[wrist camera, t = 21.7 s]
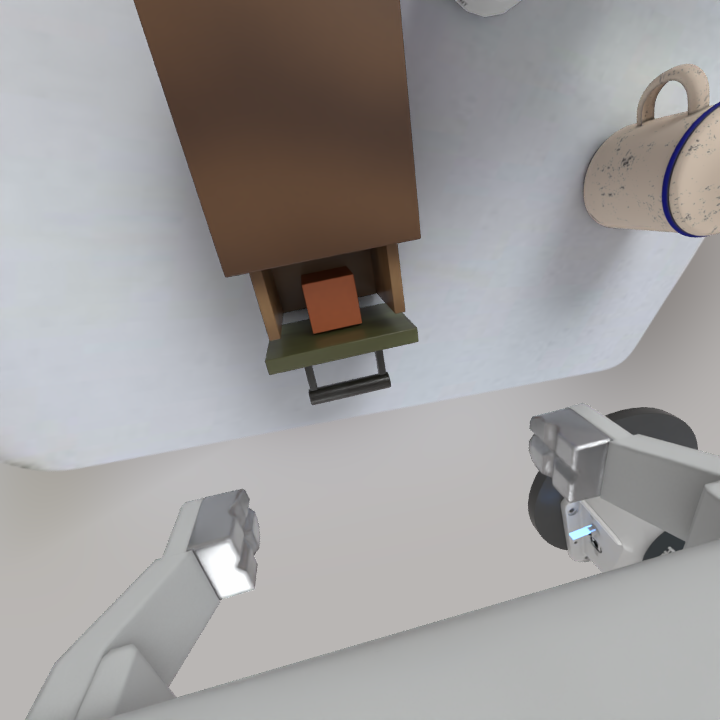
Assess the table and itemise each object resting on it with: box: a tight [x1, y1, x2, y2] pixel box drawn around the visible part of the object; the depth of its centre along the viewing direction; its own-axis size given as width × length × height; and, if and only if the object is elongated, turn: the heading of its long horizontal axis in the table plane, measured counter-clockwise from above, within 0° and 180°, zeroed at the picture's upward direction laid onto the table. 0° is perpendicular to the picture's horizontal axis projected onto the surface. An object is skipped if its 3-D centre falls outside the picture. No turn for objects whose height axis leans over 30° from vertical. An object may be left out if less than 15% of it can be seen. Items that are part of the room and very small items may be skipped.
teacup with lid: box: [583, 64, 720, 237], centre depth 27 cm, size 12×9×12 cm
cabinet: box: [134, 0, 421, 277], centre depth 23 cm, size 15×13×10 cm
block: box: [301, 266, 362, 334], centre depth 29 cm, size 4×4×4 cm
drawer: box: [249, 243, 418, 405], centre depth 28 cm, size 18×11×8 cm, turn 10°
